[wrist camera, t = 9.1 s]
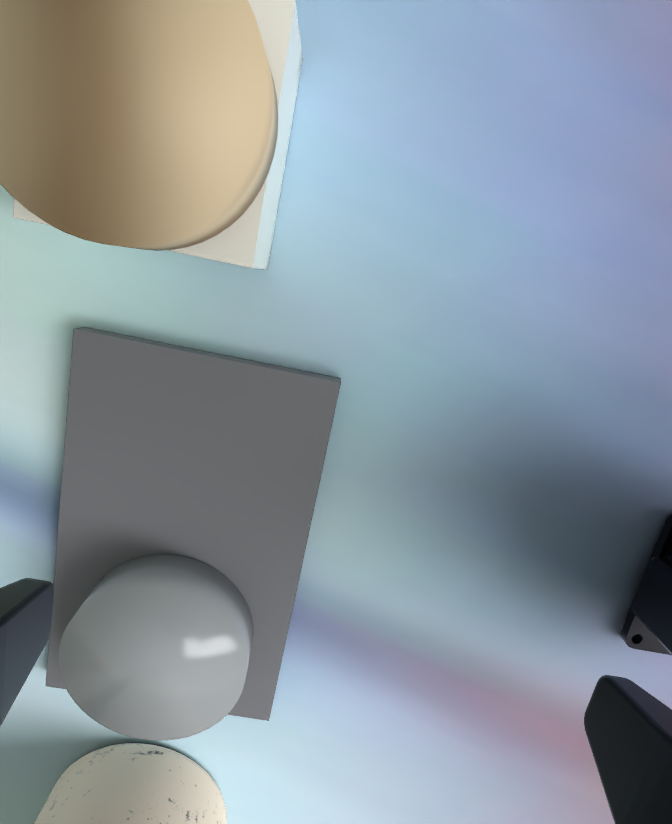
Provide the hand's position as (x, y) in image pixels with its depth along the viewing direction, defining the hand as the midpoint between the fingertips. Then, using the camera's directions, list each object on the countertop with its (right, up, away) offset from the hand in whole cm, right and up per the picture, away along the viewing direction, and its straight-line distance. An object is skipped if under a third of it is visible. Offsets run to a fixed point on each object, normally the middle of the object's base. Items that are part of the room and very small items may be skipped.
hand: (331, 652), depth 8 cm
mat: (-6, -1, +14) cm, 15 cm away
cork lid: (-5, +12, +6) cm, 14 cm away
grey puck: (-7, -5, +14) cm, 17 cm away
